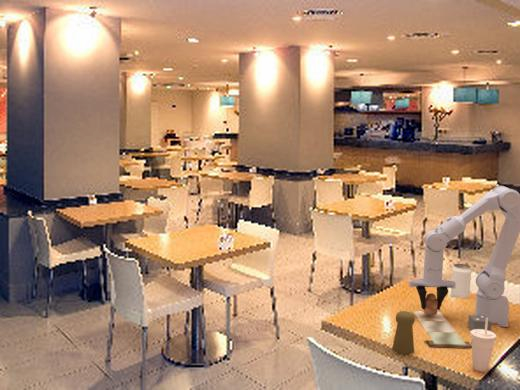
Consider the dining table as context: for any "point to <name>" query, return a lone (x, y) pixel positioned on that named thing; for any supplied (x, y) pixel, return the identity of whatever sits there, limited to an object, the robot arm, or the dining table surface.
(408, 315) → the olive brown pawn
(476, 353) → the smoothie
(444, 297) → the robot arm
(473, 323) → the die
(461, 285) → the can
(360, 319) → the dining table surface
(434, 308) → the pawn
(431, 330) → the game board
